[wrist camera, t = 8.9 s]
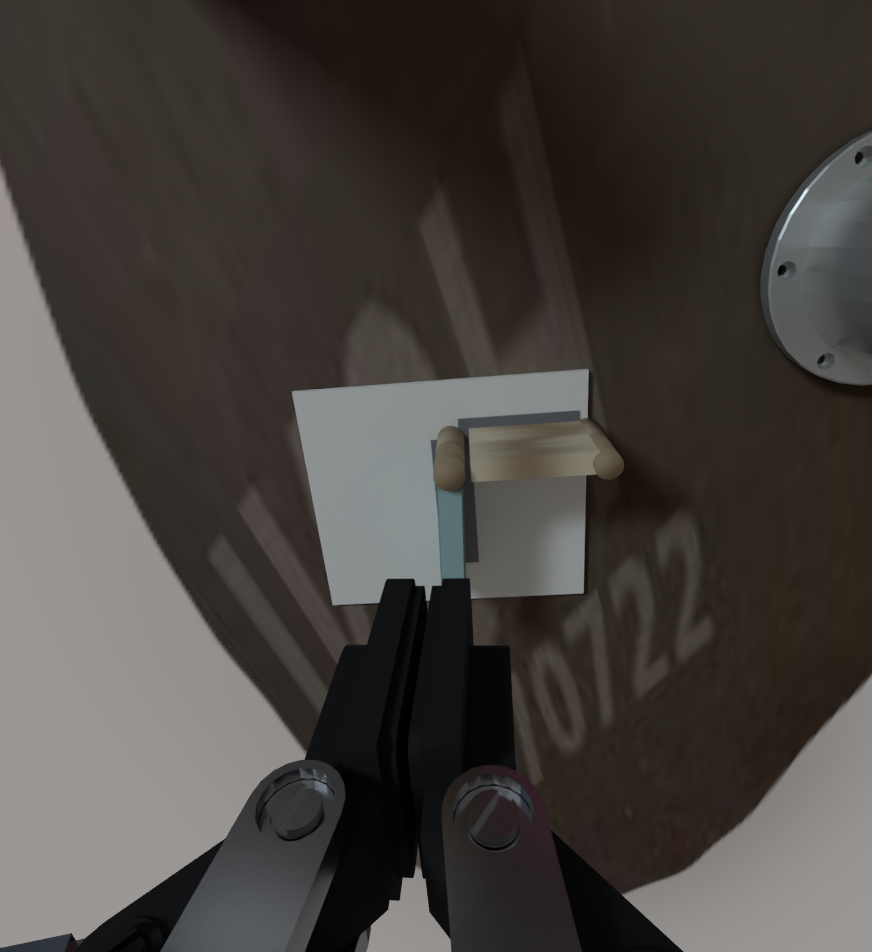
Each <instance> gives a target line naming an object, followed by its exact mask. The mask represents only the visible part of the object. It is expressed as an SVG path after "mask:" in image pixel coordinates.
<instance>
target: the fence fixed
mask: <svg viewBox="0 0 872 952" xmlns="http://www.w3.org/2000/svg"><path fill="white" fill-rule="evenodd" d="M469 447H470V467H471V482H482V481H498V480H514V479H531V478H547V477H563V476H579V475H596V474H597V475H598V476H599V477H600V478H602V479H606V480H610V479H614V478H616V477H618V476H619V475H620V474H621V473H622V471H623V469H624V461H623V459H622V458H621V456H620V455H619V454H618V452H617V451H616V450H615V448H614V447H613V445H612V444H611V443H610V441H609V440H608V439H607V437H606V436H605V434H604V433H603V432H602V430H601V429H600V428H599V426H598V425H597V423H596V422H595V421H594V420H593V419H592V418H590V417H588V418H583V419H581V420H579V421H568V422H554V423H539V424H524V425H510V426H495V427H481V428H469ZM433 480H434V482H435V484H436V485H437V487H439V488H440V489H442V490H445V491H454V490H456V489H458V488H460V487H461V486H462V484H463V483H464V480H465V450H464V435H463V433H462V431H461V430H460V429H458V428H457V427H455V426H446V427H444V428H443V429H441V430H440V432H439V433H438V437H437V446H436V454H435V463H434V472H433Z"/></svg>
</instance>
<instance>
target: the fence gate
mask: <svg viewBox="0 0 872 952" xmlns="http://www.w3.org/2000/svg"><path fill="white" fill-rule="evenodd" d="M437 507H438V528H439V549H440V570H441V585H442V579H443V578H466V562H465V525H464V488H463V484H462V486H461V487H460V488H458V489H456V490H454V491H445V490H442V489H440V488H439V487H437Z"/></svg>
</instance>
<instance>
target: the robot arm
mask: <svg viewBox="0 0 872 952" xmlns="http://www.w3.org/2000/svg"><path fill="white" fill-rule="evenodd" d="M856 155H857V160H856V162H855V156H856ZM780 266H782V270H781V272H780V273H779V274H778V272H777V271H778V269H779V267H780ZM761 304H762V309H763V314H764V318H765V322H766V325H767V327H768V329H769V331H770V333H771V335H772V338H773V340H774V341H775V343H776V344H777V345H778V347H779V348H780V349H781V350H782V352H783V353H784V354H785V355H786V357H788V358H789V359H790V360H792V361H793V362H794V363H795V364H797V365H798V366H799V367H801V368H802V369H804V370H806V371H808V372H811V373H813V374H815V375H817V376H819V377H822V378H825V379H828V380H831V381H834V382H837V383H843V384H851V385H860V386H863V385H872V130H871V131H869V132H867V133H865V134H863V135H861V136H859V137H857V138H855V139H853V140H851V141H850V142H849V143H847V144H846V145H844V146H843V147H842V148H840V149H839V150H837V151H836V152H835V153H833V154H832V155H830V156H829V157H828V158H827V159H826V160H825V161H824V162H823V163H822V164H821V165H820V166H819V167H818V168H816V169H815V170H814V171H813V172H812V173H811V174H810V175H809V176H808V177H807V178H806V179H805V181H804V182H803V183H802V185H801V186H800V187H799V189H798V190H797V191H796V192H795V194H794V195H793V196H792V198H791V199H790V200H789V202H788V203H787V205H786V207H785V209H784V211H783V212H782V214H781V216H780V218H779V220H778V221H777V223H776V225H775V227H774V229H773V232H772V235H771V238H770V240H769V243H768V246H767V249H766V251H765V256H764V261H763V267H762V272H761ZM819 357H820V359H819ZM818 359H819V360H818ZM418 844H419V852H420V860H421V868H422V876H423V878H424V879H426V886H427V895H428V903H429V911H430V913H431V914H432V916H433V917H434V918H435V919H436V921H437V922H438V924H439V925H440V926H441V928H442V929H443V930H444V931H445V933H446V934H447V935H448V937H449V938H450V939H451V950H452V952H683V951H682V950H681V949H680V948H679V947H678V946H677V945H675V944H674V943H673V942H672V941H671V940H670V939H669V938H668V937H667V936H666V935H665V934H664V933H662V932H661V931H660V930H659V929H658V928H657V927H656V926H655V925H654V924H653V923H652V922H650V921H649V920H648V919H647V918H646V917H645V916H644V915H643V914H642V913H641V912H640V911H638V910H637V909H636V908H635V907H634V906H633V905H632V904H631V903H630V902H629V901H627V899H625V898H624V897H623V896H622V895H621V894H620V893H619V892H618V891H617V890H616V889H615V888H613V887H612V886H611V885H610V884H609V883H608V882H607V881H606V880H605V879H604V878H603V877H602V876H600V875H599V874H598V873H597V872H596V871H595V870H594V869H593V868H592V867H591V866H590V865H588V864H587V863H586V862H585V861H584V860H583V859H582V858H581V857H580V856H579V855H578V854H576V853H575V852H574V851H573V850H572V849H571V848H570V847H569V846H568V845H567V844H566V843H565V842H563V841H562V840H561V839H560V838H559V837H558V836H557V835H556V834H555V833H554V832H553V831H551V829H550V825H549V821H548V817H547V814H546V810H545V806H544V803H543V801H542V798H541V796H540V794H539V791H538V790H537V789H536V787H535V786H534V785H533V784H532V783H531V782H530V780H529V779H528V778H526V777H525V776H523V775H522V774H520V773H519V772H517V771H516V764H515V744H514V725H513V705H512V685H511V665H510V647H509V646H474V645H473V625H472V606H471V586H470V578H443V579H442V585H441V586H432V589H431V595H430V601H429V608H428V613H427V602H426V592H425V586H416V584H415V580H414V579H387V580H386V582H385V585H384V588H383V592H382V595H381V599H380V602H379V605H378V609H377V612H376V616H375V619H374V623H373V626H372V629H371V633H370V636H369V640H368V643H367V645H346V646H345V647H344V649H343V651H342V653H341V656H340V659H339V662H338V665H337V668H336V670H335V673H334V676H333V679H332V682H331V685H330V688H329V691H328V694H327V697H326V699H325V702H324V705H323V708H322V711H321V714H320V717H319V720H318V723H317V725H316V728H315V731H314V734H313V737H312V740H311V743H310V746H309V749H308V751H307V754H306V757H305V760H300V761H296V762H292V763H288V764H286V765H284V766H282V767H280V768H278V769H276V770H274V771H273V772H272V773H270V774H269V775H268V776H267V777H266V778H264V779H263V780H262V781H261V782H260V783H259V785H258V786H257V787H256V789H255V790H254V791H253V792H252V794H251V795H250V797H249V799H248V801H247V802H246V804H245V806H244V808H243V809H242V811H241V813H240V814H239V816H238V818H237V820H236V821H235V823H234V825H233V827H232V828H231V830H230V832H229V833H228V835H227V837H226V839H224V840H223V841H221V842H220V843H218V844H217V845H215V846H214V847H212V848H211V849H210V850H208V851H207V852H205V853H204V854H203V855H201V856H199V858H197V859H195V860H194V861H192V862H191V863H189V864H188V865H186V866H185V867H184V868H182V869H181V870H179V871H178V872H176V873H175V874H174V875H172V876H171V877H169V878H168V879H166V880H165V881H164V882H162V883H160V884H159V885H158V886H156V887H155V888H153V889H152V890H150V891H149V892H148V893H146V894H145V895H143V896H142V897H140V898H139V899H137V900H136V901H134V902H133V903H132V904H130V905H129V906H127V907H126V908H125V909H123V910H121V911H120V912H119V913H117V914H116V915H114V916H113V917H111V918H110V919H108V920H107V921H106V922H104V923H103V924H102V925H101V926H99V927H98V928H97V929H96V930H95V931H93V932H92V933H91V934H90V935H89V936H87V937H86V938H85V939H81V940H75V938H74V937H73V935H72V933H71V934H66V935H61V936H56V937H52V938H47V939H42V940H37V941H32V942H27V943H23V944H18V945H13V946H8V947H4V948H0V952H366V950H367V947H368V943H369V937H370V930H371V925H372V924H373V923H374V922H375V921H376V920H377V919H378V918H379V917H380V916H382V915H383V914H384V913H385V912H386V911H387V910H388V906H389V900H400V893H401V886H402V878H403V877H405V878H413V877H414V873H415V866H416V857H417V849H418Z"/></svg>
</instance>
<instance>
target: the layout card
mask: <svg viewBox="0 0 872 952" xmlns="http://www.w3.org/2000/svg"><path fill="white" fill-rule="evenodd" d="M588 376H589V370H588V369H580V370H567V371H554V372H540V373H527V374H514V375H500V376H487V377H474V378H460V379H447V380H434V381H420V382H407V383H393V384H380V385H367V386H353V387H340V388H327V389H313V390H300V391H293V392H292V395H293V400H294V405H295V410H296V416H297V421H298V426H299V431H300V436H301V442H302V447H303V452H304V457H305V463H306V468H307V473H308V478H309V483H310V489H311V494H312V499H313V504H314V510H315V515H316V520H317V525H318V530H319V536H320V541H321V546H322V551H323V556H324V562H325V567H326V572H327V577H328V583H329V588H330V593H331V598H332V603H333V605H345V604H367V603H379V602H380V599H381V595H382V592H383V588H384V585H385V582H386V580H387V579H414V580H415V584H416V586H425V592H426V601H430V595H431V589H432V586H441V570H440V549H439V528H438V507H437V485H436V484H435V482H434V480H433V472H434V463H435V454H436V446H437V437H438V433H439V432H440V430H441V429H443V428H444V427H446V426H455V427H457V428H458V429H460V430H461V431H462V433H463V435H464V450H465V480H464V483H463V488H464V525H465V562H466V578H470V586H471V599H474V598H495V597H517V596H538V595H560V594H581V593H584V554H585V509H586V475H579V476H563V477H547V478H531V479H514V480H498V481H482V482H471V467H470V447H469V428H481V427H495V426H510V425H524V424H539V423H554V422H568V421H579V420H581V419H583V418H588Z"/></svg>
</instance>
